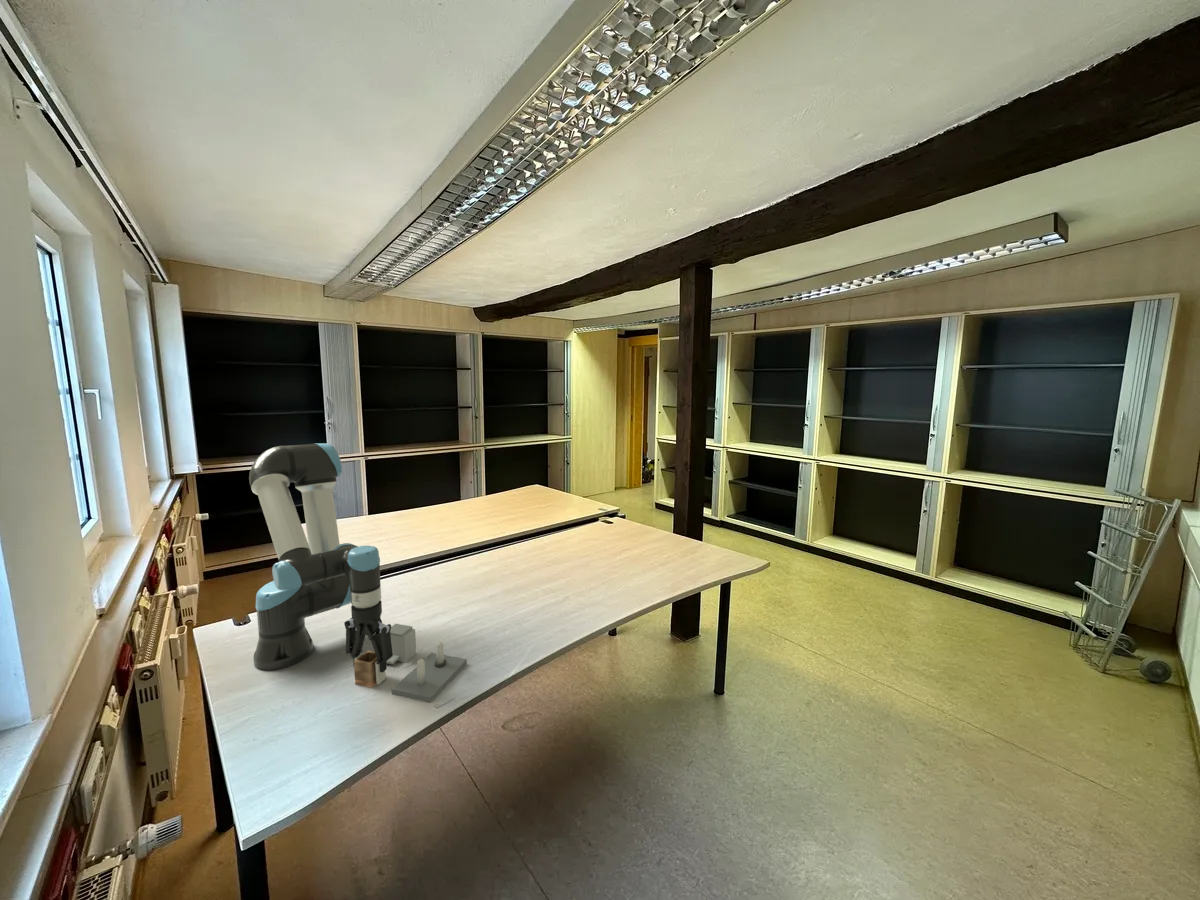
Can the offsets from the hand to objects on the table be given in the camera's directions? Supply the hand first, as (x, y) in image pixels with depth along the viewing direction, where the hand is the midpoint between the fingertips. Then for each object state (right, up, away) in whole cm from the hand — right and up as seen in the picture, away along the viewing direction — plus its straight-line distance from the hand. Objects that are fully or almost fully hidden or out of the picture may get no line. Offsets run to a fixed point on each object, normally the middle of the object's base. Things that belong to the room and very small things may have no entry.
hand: (370, 679), depth 131 cm
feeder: (+3, +1, +11) cm, 11 cm away
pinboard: (+17, 0, +1) cm, 17 cm away
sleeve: (0, 0, 0) cm, 0 cm away
